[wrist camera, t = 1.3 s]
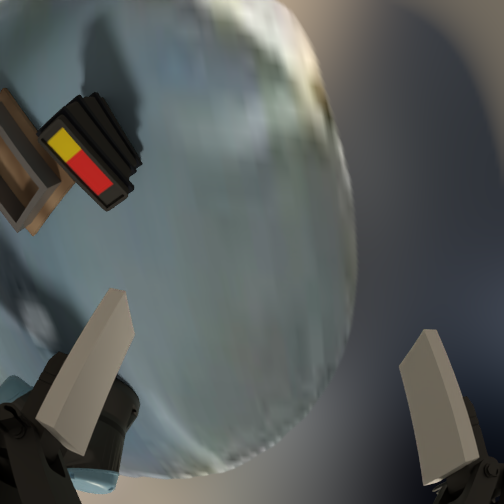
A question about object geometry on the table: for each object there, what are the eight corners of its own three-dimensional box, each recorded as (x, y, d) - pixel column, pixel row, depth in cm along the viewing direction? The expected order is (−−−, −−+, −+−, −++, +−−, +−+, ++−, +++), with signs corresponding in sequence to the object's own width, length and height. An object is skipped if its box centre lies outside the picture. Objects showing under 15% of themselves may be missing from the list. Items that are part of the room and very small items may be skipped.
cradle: (31, 223, 36) (17, 232, 32) (-25, 145, 29) (-40, 149, 25) (61, 181, 34) (47, 188, 30) (1, 101, 27) (-15, 102, 24)
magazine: (90, 75, 28) (59, 112, 19) (144, 145, 38) (144, 207, 29) (68, 93, 29) (31, 139, 19) (123, 159, 39) (117, 226, 29)
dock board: (35, 234, 37) (32, 236, 36) (-28, 146, 29) (-32, 146, 29) (77, 180, 35) (74, 181, 34) (6, 88, 27) (3, 88, 26)
